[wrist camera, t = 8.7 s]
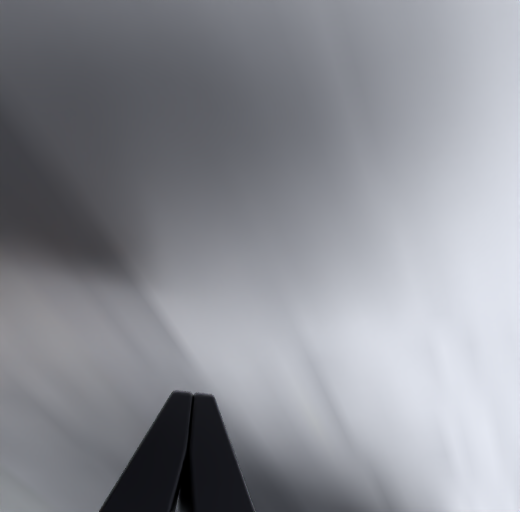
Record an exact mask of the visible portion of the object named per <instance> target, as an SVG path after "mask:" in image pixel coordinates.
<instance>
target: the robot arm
mask: <svg viewBox="0 0 520 512" xmlns="http://www.w3.org/2000/svg"><path fill="white" fill-rule="evenodd" d="M178 495H179V499H178ZM177 500H178V512H256V511H255V509H254V506H253V503H252V500H251V497H250V495H249V492H248V489H247V486H246V483H245V481H244V478H243V475H242V472H241V469H240V467H239V464H238V461H237V458H236V455H235V453H234V450H233V447H232V444H231V441H230V439H229V436H228V433H227V430H226V427H225V425H224V422H223V419H222V416H221V413H220V411H219V408H218V405H217V402H216V399H215V397H214V396H213V395H212V394H205V393H195V394H194V395H193V394H192V393H191V392H187V391H177V390H175V391H173V392H172V393H171V395H170V396H169V398H168V400H167V401H166V403H165V404H164V406H163V408H162V409H161V411H160V413H159V414H158V416H157V418H156V419H155V421H154V422H153V424H152V426H151V427H150V429H149V431H148V432H147V434H146V435H145V437H144V439H143V440H142V442H141V444H140V445H139V447H138V448H137V450H136V452H135V453H134V455H133V457H132V458H131V460H130V462H129V463H128V465H127V466H126V468H125V470H124V471H123V473H122V475H121V476H120V478H119V479H118V481H117V483H116V484H115V486H114V488H113V489H112V491H111V493H110V494H109V496H108V497H107V499H106V501H105V502H104V504H103V506H102V507H101V509H100V510H99V512H175V510H176V505H177Z"/></svg>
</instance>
